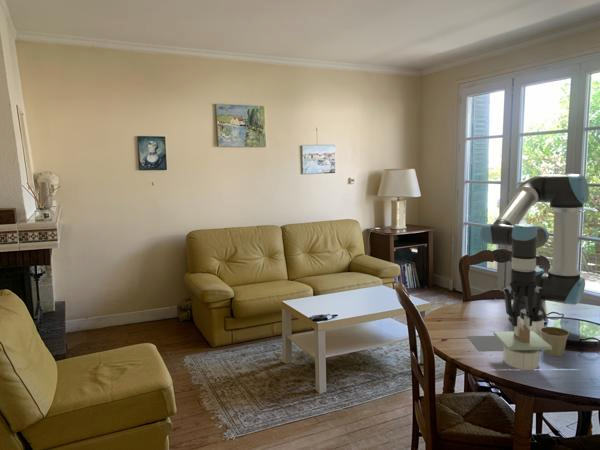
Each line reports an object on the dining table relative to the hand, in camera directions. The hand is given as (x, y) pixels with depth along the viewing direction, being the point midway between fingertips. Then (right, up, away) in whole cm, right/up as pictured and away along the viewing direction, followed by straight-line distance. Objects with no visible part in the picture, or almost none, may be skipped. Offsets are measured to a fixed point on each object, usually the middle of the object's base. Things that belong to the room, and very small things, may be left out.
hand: (521, 334), depth 155 cm
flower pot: (+16, -9, +8) cm, 20 cm away
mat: (-2, -8, +18) cm, 20 cm away
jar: (+14, -8, +20) cm, 26 cm away
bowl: (0, -10, +1) cm, 11 cm away
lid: (0, -2, 0) cm, 3 cm away
